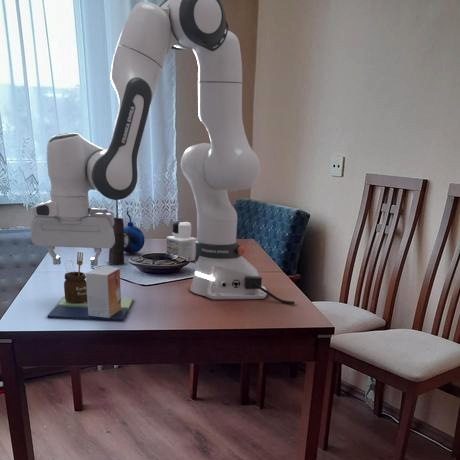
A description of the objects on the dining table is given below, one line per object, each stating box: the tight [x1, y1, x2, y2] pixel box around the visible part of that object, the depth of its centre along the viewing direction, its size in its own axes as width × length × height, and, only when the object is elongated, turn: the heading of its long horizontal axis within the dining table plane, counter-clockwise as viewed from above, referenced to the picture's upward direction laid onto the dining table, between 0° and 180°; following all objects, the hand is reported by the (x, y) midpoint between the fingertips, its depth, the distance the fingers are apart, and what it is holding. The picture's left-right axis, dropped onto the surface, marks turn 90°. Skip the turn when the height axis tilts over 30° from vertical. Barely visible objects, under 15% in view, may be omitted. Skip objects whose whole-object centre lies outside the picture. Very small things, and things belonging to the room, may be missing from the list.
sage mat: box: [57, 296, 134, 311], centre depth 145 cm, size 18×8×1 cm, turn 91°
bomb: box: [124, 210, 146, 254], centre depth 199 cm, size 10×11×15 cm
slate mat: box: [47, 305, 129, 322], centre depth 137 cm, size 18×8×1 cm, turn 91°
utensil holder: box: [63, 251, 87, 303], centre depth 142 cm, size 6×6×12 cm
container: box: [166, 220, 197, 262], centre depth 195 cm, size 8×8×13 cm
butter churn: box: [108, 200, 125, 266], centre depth 180 cm, size 9×10×28 cm
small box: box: [85, 265, 122, 318], centre depth 134 cm, size 8×6×10 cm
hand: (75, 264), depth 141 cm, fingers open, 8 cm apart
